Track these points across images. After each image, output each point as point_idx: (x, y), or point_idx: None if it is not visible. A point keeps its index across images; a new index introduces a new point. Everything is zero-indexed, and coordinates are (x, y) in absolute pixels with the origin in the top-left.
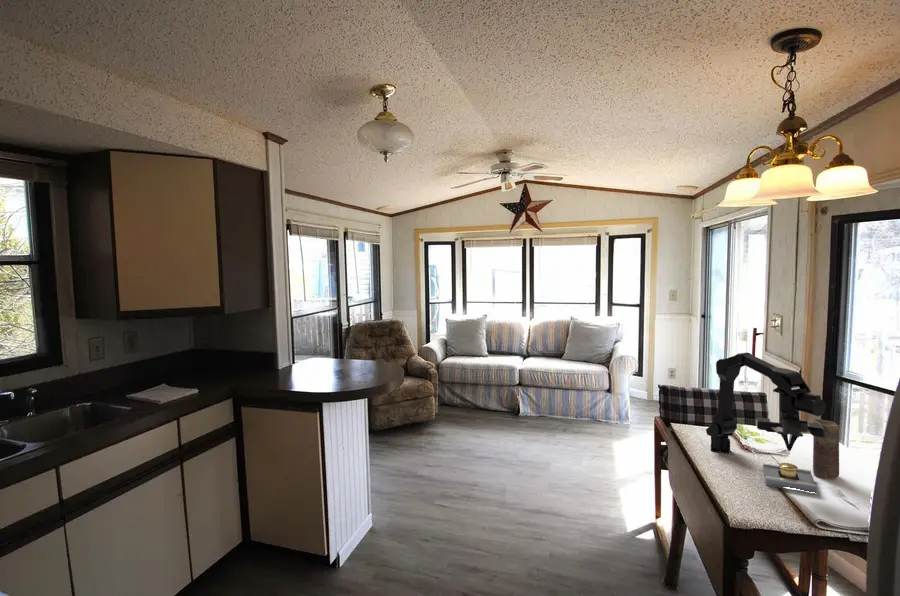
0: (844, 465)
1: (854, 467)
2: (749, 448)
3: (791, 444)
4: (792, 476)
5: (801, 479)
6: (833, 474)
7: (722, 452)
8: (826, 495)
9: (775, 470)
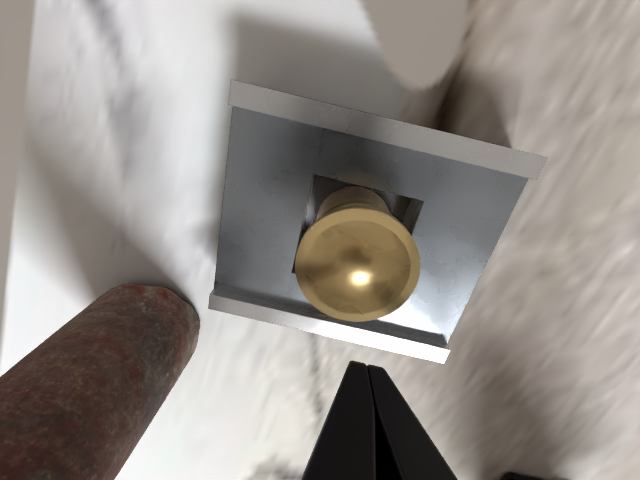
0: None
1: None
2: None
3: (351, 455)
4: (346, 201)
5: (295, 191)
6: (107, 296)
7: (532, 478)
8: (200, 85)
9: None
